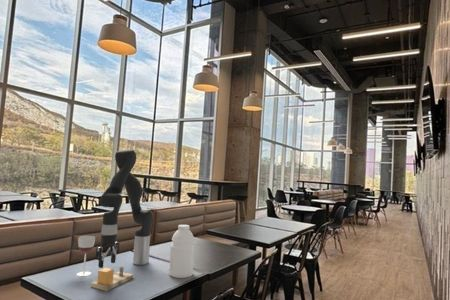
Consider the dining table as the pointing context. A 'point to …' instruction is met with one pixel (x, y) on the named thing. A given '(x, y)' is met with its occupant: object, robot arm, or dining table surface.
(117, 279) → the wooden peg rack
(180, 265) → the bottle
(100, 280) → the wooden toy cube
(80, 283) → the dining table surface
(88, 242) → the wineglass
